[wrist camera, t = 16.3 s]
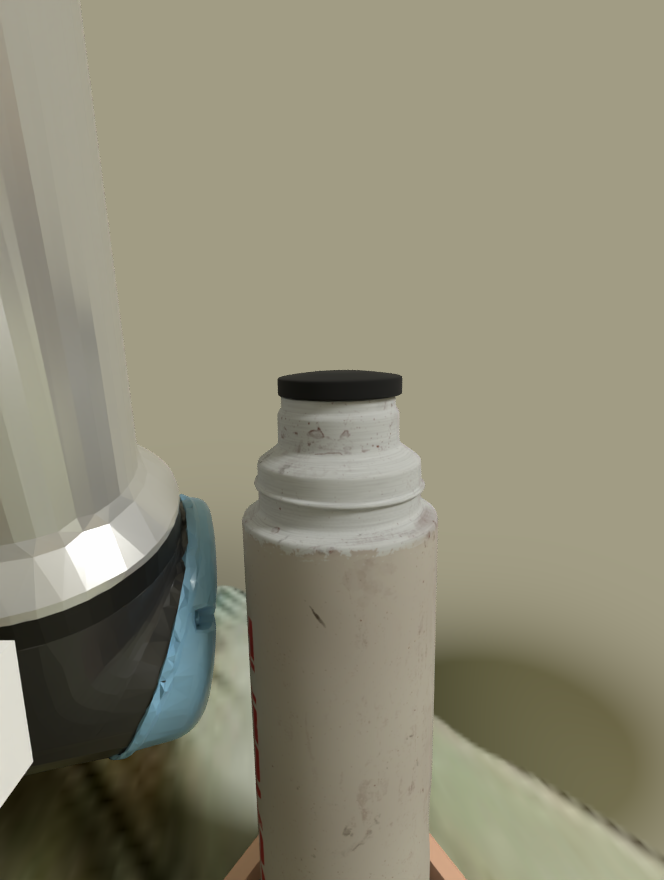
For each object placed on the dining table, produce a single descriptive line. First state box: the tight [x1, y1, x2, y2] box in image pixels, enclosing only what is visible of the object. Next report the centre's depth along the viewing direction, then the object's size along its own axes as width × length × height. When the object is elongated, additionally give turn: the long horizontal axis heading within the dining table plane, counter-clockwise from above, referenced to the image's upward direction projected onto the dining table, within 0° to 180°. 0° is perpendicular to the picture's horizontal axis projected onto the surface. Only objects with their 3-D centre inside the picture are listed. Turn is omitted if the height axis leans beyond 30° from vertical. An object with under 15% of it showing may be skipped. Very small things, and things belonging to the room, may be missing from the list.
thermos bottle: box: [242, 370, 438, 880], centre depth 23 cm, size 8×8×28 cm
